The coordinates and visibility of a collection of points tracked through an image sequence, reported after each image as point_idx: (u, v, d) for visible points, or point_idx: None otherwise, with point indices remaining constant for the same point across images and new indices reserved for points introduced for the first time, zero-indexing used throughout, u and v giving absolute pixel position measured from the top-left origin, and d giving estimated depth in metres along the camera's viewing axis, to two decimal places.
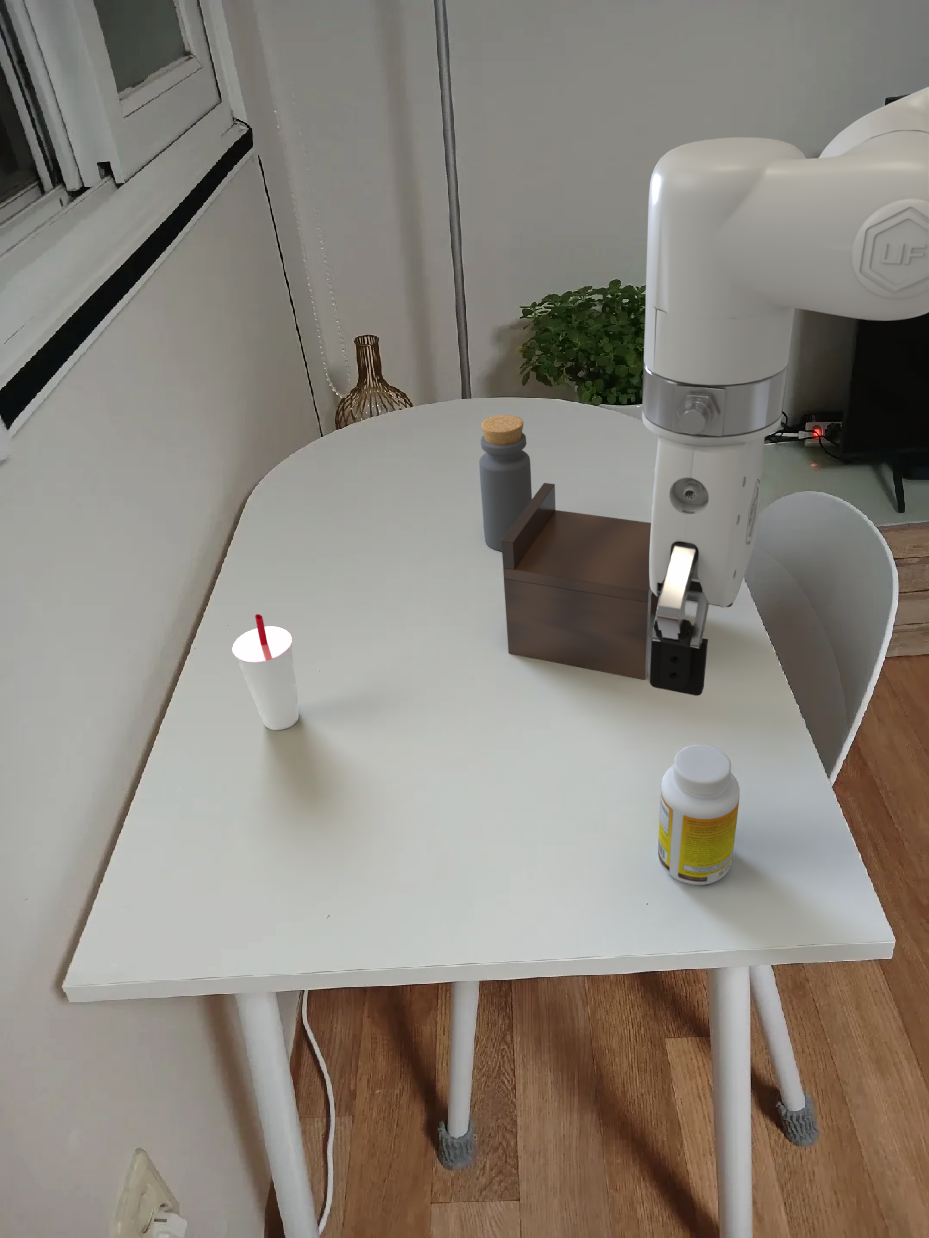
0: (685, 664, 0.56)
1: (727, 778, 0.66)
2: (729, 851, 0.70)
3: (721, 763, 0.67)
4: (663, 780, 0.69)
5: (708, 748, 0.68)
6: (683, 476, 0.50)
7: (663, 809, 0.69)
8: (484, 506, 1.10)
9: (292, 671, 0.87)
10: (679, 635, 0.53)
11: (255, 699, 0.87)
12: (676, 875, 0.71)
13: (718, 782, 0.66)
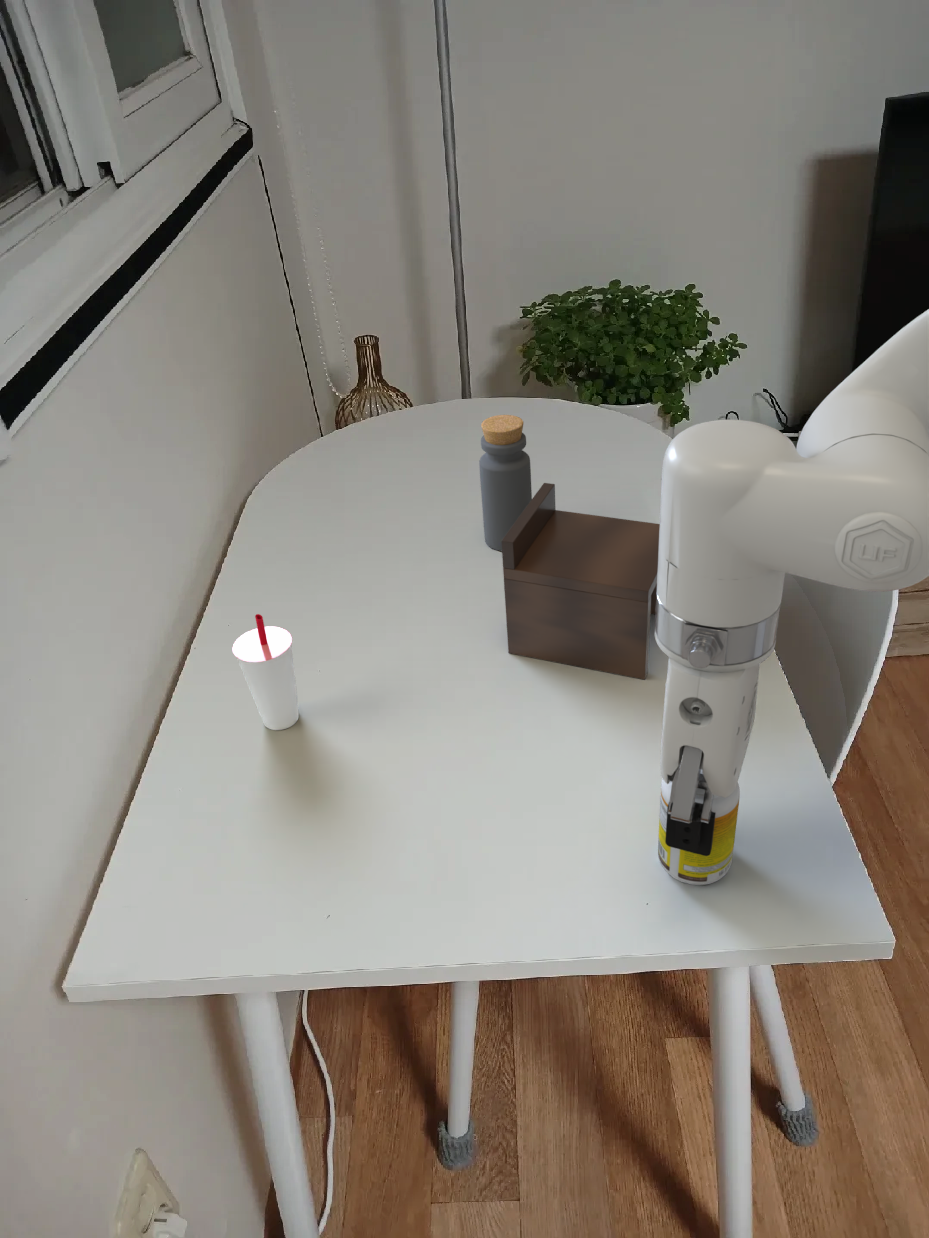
0: (696, 833, 0.66)
1: None
2: (729, 851, 0.70)
3: None
4: (663, 780, 0.69)
5: None
6: (691, 696, 0.58)
7: (663, 809, 0.69)
8: (484, 506, 1.10)
9: (292, 671, 0.87)
10: (691, 819, 0.62)
11: (255, 699, 0.87)
12: (676, 875, 0.71)
13: None
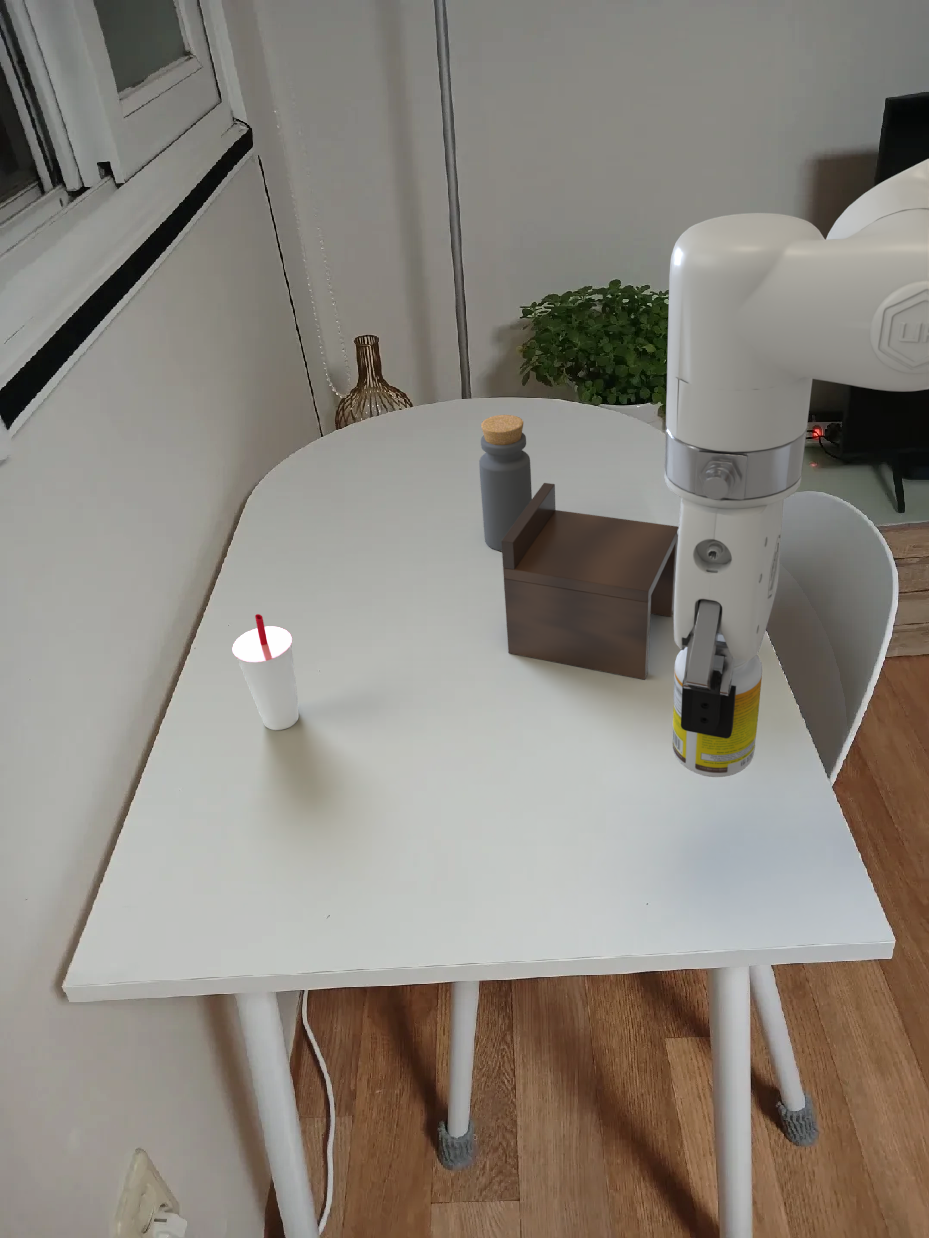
0: (715, 710, 0.59)
1: None
2: (751, 737, 0.63)
3: None
4: (677, 659, 0.63)
5: None
6: (706, 537, 0.52)
7: (677, 691, 0.62)
8: (484, 506, 1.10)
9: (292, 671, 0.87)
10: (710, 687, 0.56)
11: (255, 699, 0.87)
12: (693, 767, 0.64)
13: None
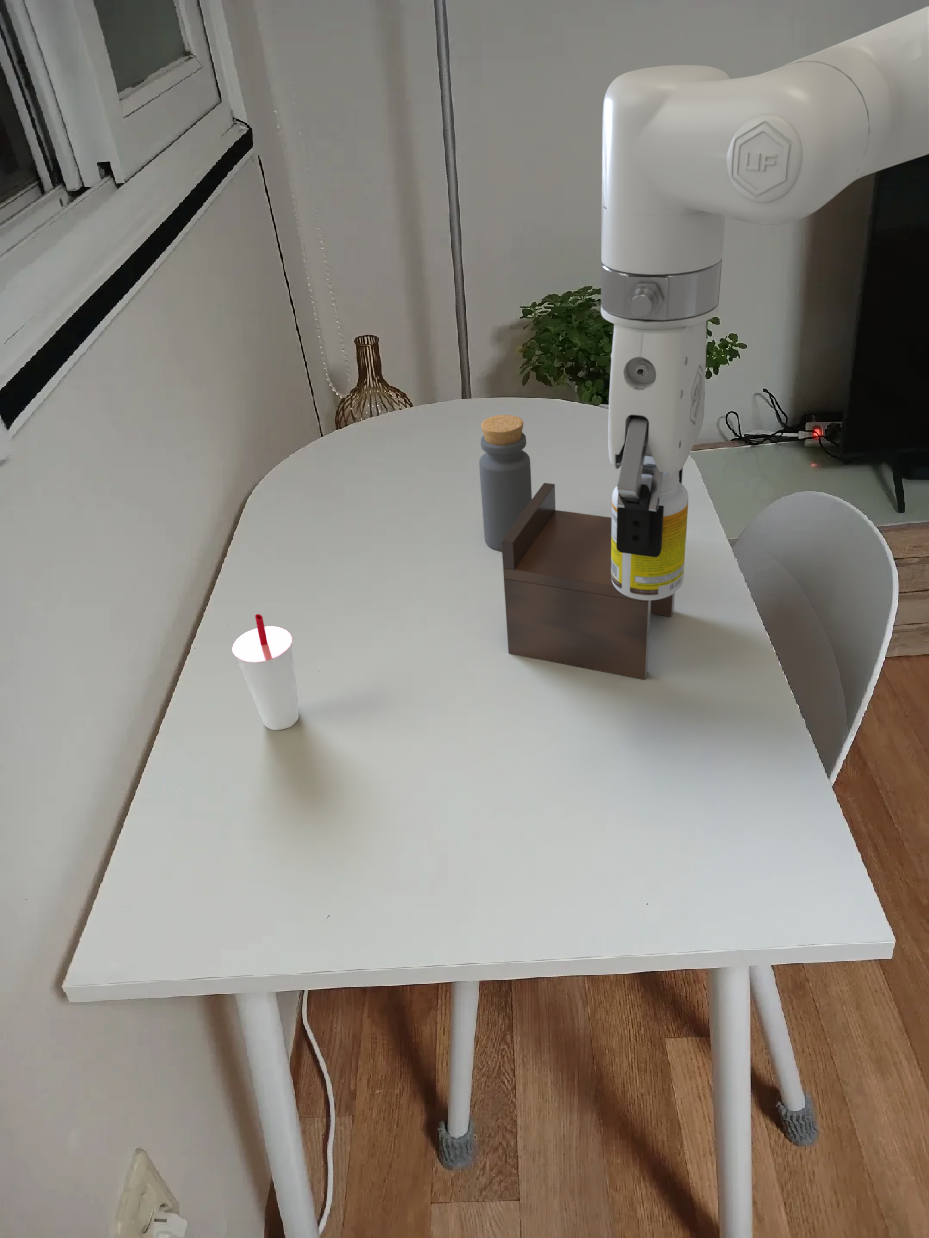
0: (645, 527, 0.67)
1: (675, 477, 0.68)
2: (679, 563, 0.71)
3: None
4: (614, 491, 0.70)
5: None
6: (634, 356, 0.60)
7: (614, 519, 0.70)
8: (484, 506, 1.10)
9: (292, 671, 0.87)
10: (639, 499, 0.64)
11: (255, 699, 0.87)
12: (628, 592, 0.72)
13: (666, 478, 0.67)
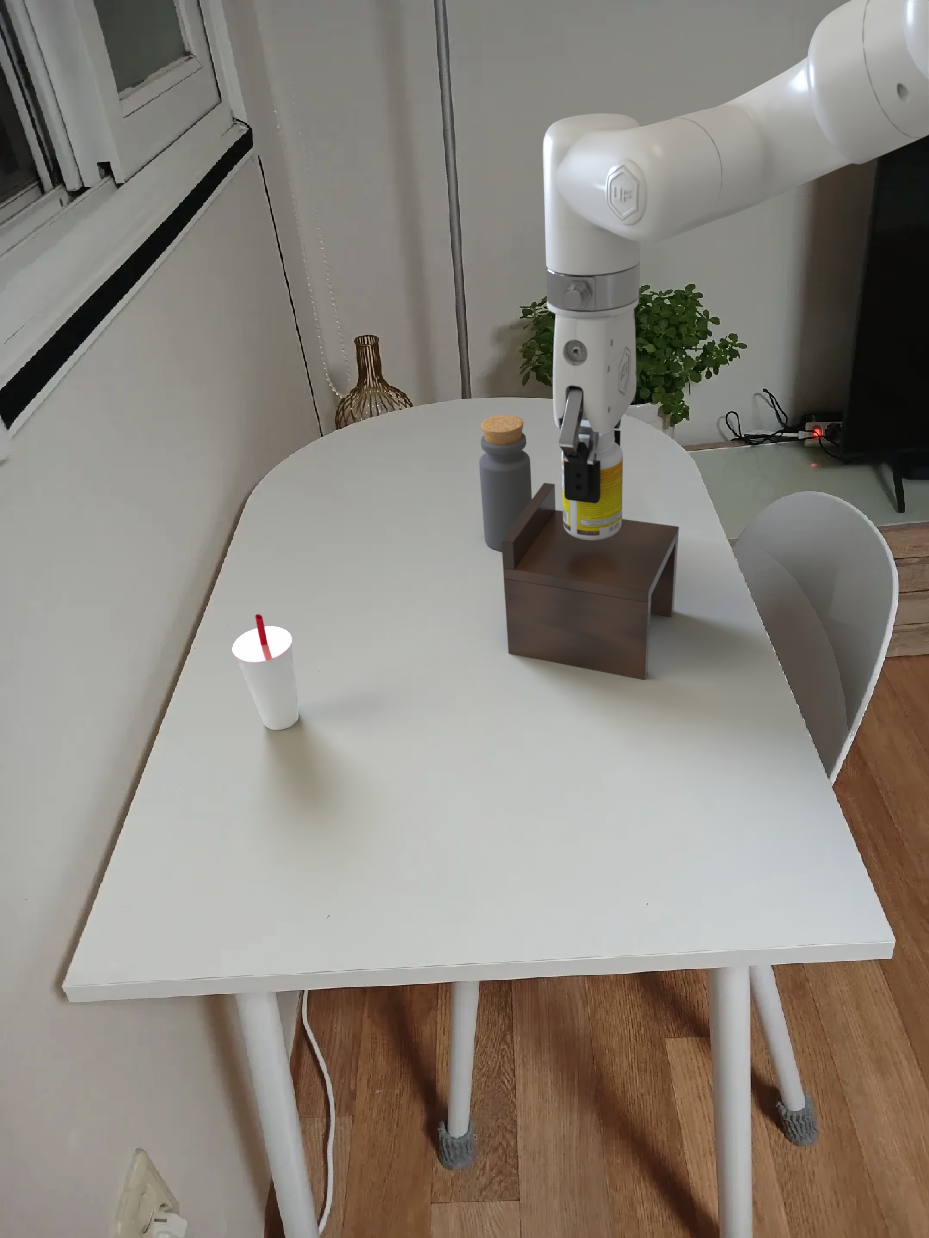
0: (585, 478, 0.83)
1: (610, 437, 0.84)
2: (616, 509, 0.88)
3: None
4: None
5: None
6: (570, 339, 0.76)
7: (563, 472, 0.87)
8: (484, 506, 1.10)
9: (292, 671, 0.87)
10: (577, 453, 0.80)
11: (255, 699, 0.87)
12: (575, 533, 0.89)
13: (602, 439, 0.84)
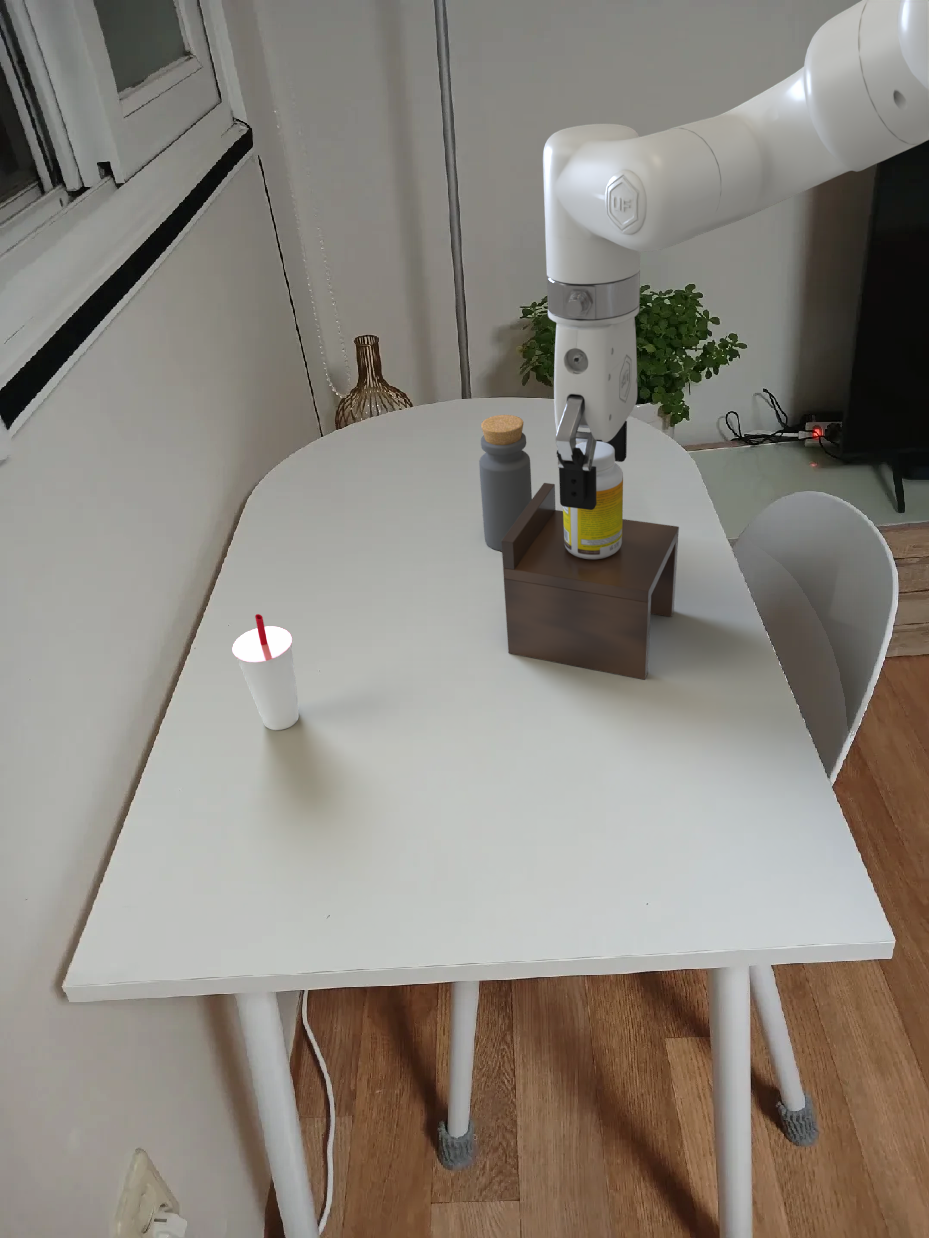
0: (581, 484, 0.82)
1: (610, 459, 0.85)
2: (617, 528, 0.89)
3: (607, 449, 0.86)
4: None
5: (598, 442, 0.87)
6: (571, 347, 0.76)
7: None
8: (484, 506, 1.10)
9: (292, 671, 0.87)
10: (572, 457, 0.79)
11: (255, 699, 0.87)
12: (576, 552, 0.90)
13: (603, 460, 0.85)
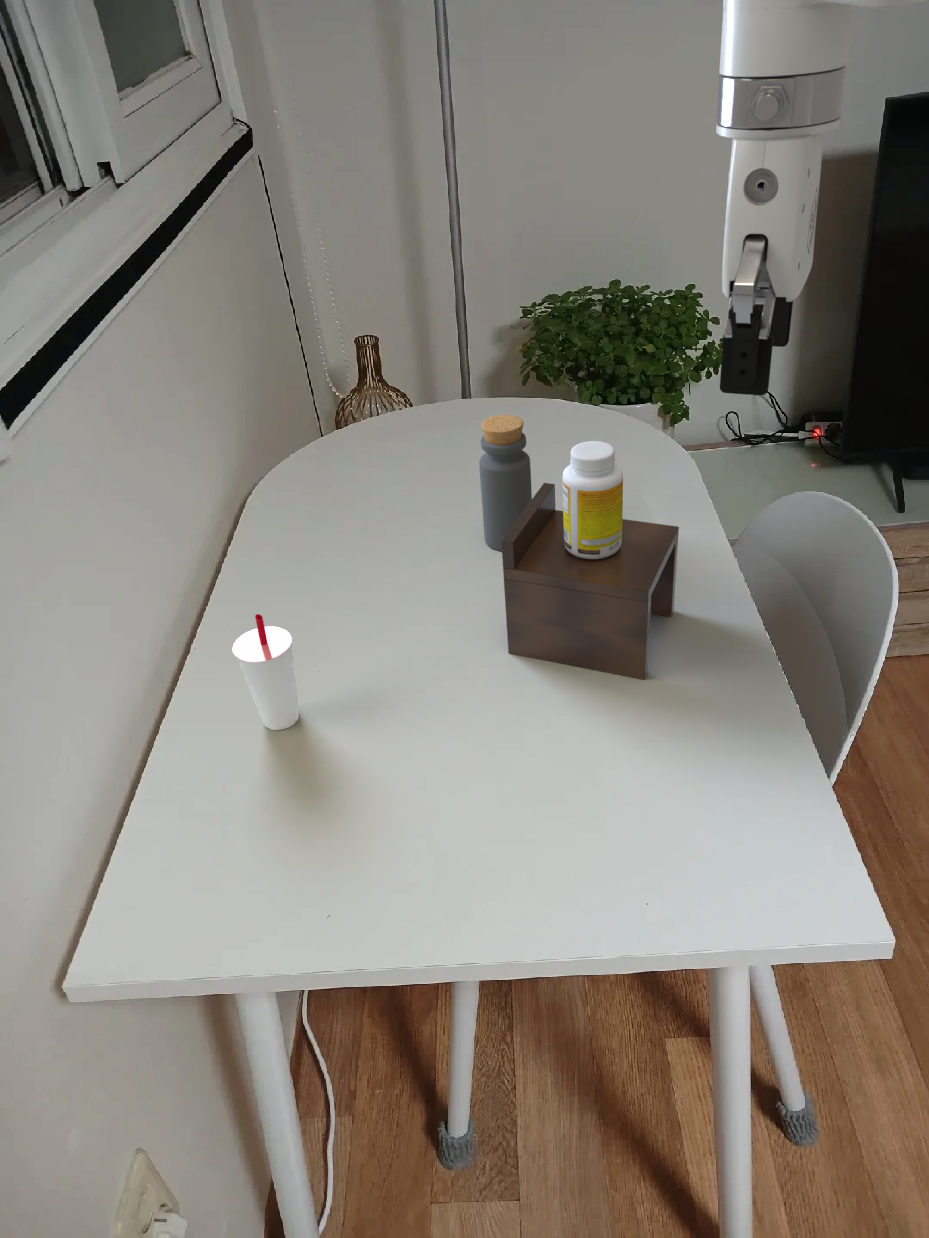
0: (753, 359, 0.63)
1: (610, 459, 0.85)
2: (617, 528, 0.89)
3: (607, 449, 0.86)
4: (564, 470, 0.88)
5: (598, 442, 0.87)
6: (756, 167, 0.58)
7: (564, 493, 0.88)
8: (484, 506, 1.10)
9: (292, 671, 0.87)
10: (751, 317, 0.60)
11: (255, 699, 0.87)
12: (576, 552, 0.90)
13: (603, 460, 0.85)
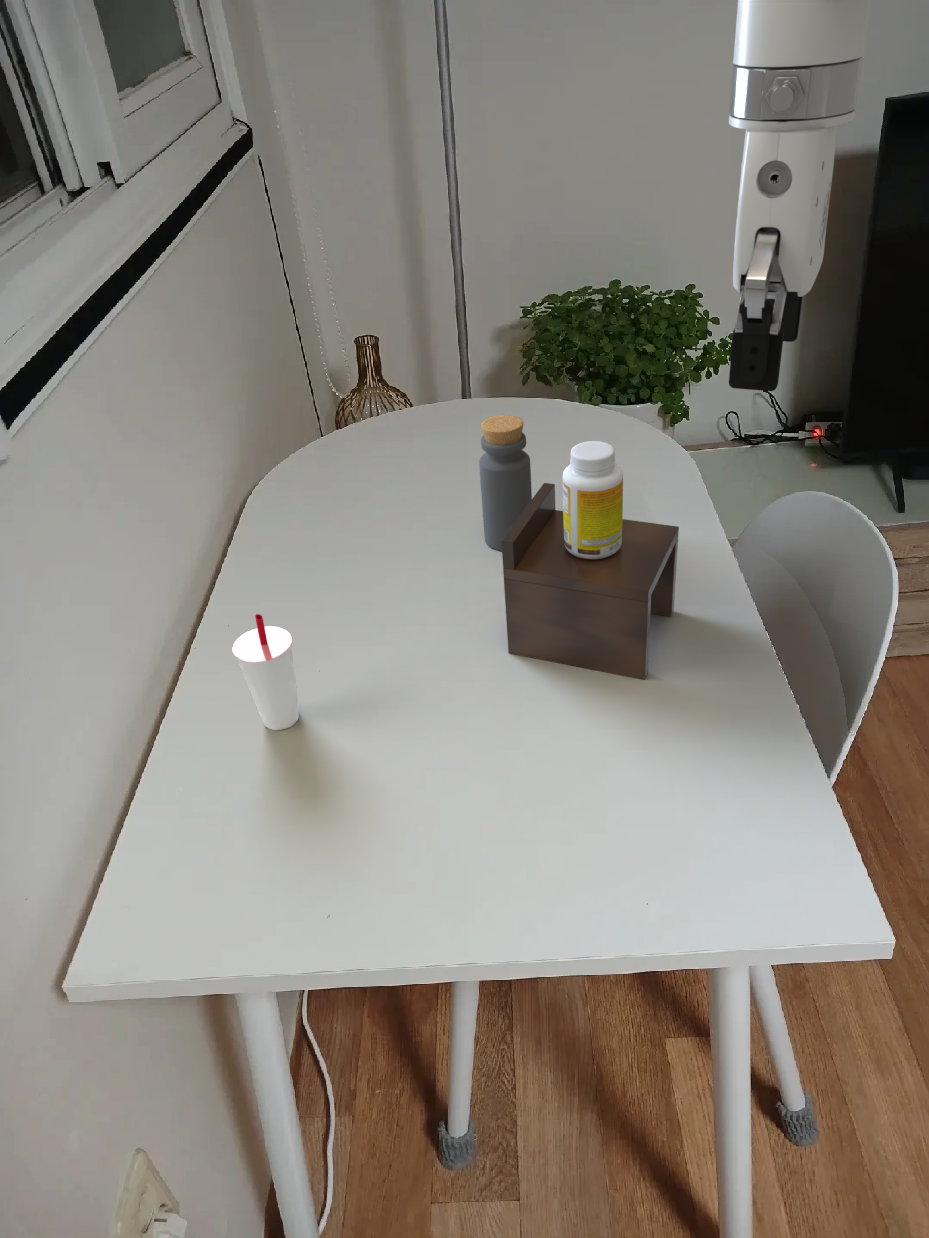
0: (763, 354, 0.63)
1: (610, 459, 0.85)
2: (617, 528, 0.89)
3: (607, 449, 0.86)
4: (564, 470, 0.88)
5: (598, 442, 0.87)
6: (769, 160, 0.57)
7: (564, 493, 0.88)
8: (484, 506, 1.10)
9: (292, 671, 0.87)
10: (763, 312, 0.59)
11: (255, 699, 0.87)
12: (576, 552, 0.90)
13: (603, 460, 0.85)
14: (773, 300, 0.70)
